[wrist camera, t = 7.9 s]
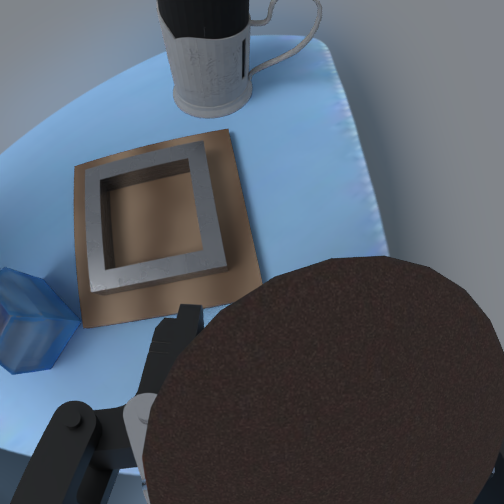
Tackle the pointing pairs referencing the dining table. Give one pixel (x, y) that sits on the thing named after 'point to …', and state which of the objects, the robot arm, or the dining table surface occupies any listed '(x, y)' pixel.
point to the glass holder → (214, 53)
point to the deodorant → (333, 394)
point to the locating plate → (161, 231)
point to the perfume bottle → (31, 323)
